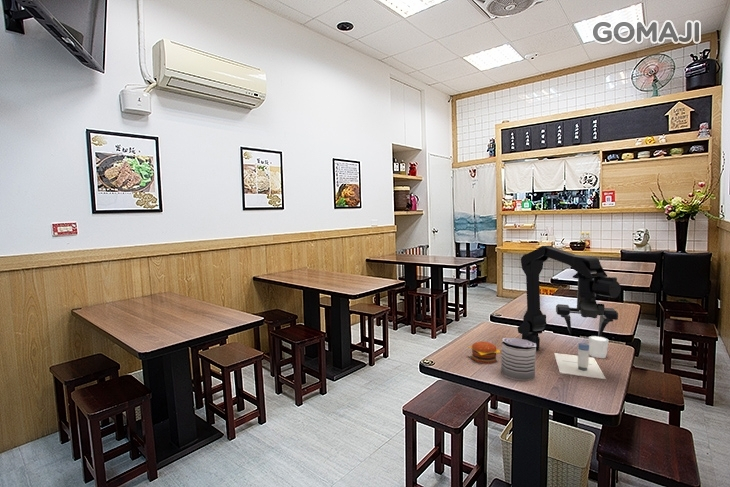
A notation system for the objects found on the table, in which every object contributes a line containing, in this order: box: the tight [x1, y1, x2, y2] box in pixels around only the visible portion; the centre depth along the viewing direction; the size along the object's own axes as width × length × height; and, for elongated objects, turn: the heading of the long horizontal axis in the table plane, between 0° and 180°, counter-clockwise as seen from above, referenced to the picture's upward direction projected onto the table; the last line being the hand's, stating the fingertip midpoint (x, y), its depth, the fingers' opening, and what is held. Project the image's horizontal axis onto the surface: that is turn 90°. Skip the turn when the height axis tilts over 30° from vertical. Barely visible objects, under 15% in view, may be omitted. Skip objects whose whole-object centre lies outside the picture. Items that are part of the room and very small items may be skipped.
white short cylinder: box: [588, 335, 610, 359], centre depth 153 cm, size 7×7×7 cm
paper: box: [553, 352, 607, 380], centre depth 144 cm, size 14×20×1 cm
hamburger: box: [468, 340, 502, 364], centre depth 150 cm, size 9×10×7 cm
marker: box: [577, 342, 590, 371], centre depth 139 cm, size 3×3×9 cm
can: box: [500, 337, 537, 382], centre depth 136 cm, size 11×11×12 cm
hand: (584, 335), depth 139 cm, fingers open, 9 cm apart
